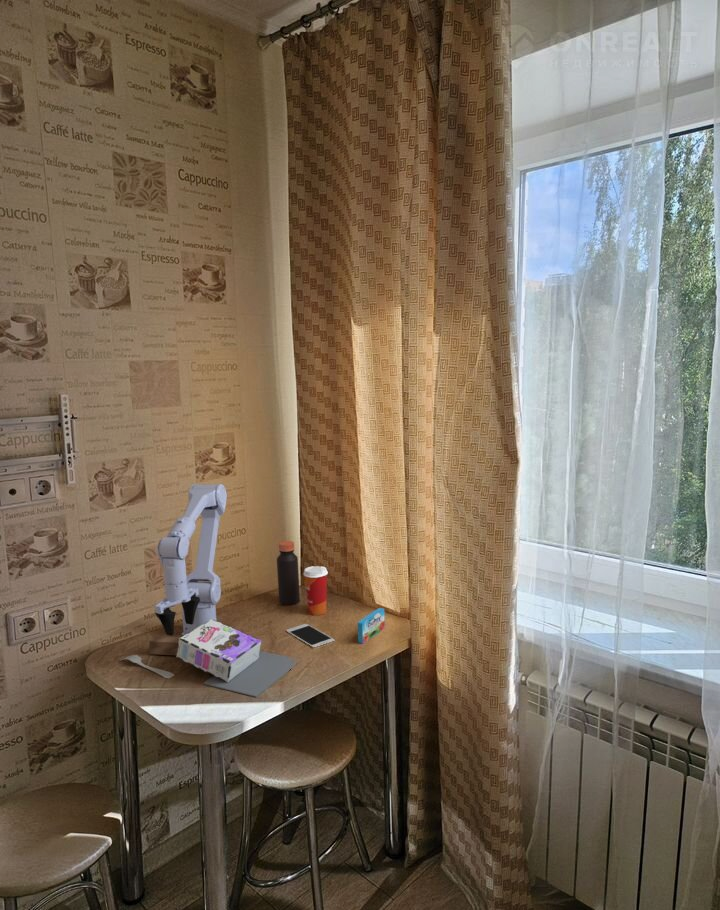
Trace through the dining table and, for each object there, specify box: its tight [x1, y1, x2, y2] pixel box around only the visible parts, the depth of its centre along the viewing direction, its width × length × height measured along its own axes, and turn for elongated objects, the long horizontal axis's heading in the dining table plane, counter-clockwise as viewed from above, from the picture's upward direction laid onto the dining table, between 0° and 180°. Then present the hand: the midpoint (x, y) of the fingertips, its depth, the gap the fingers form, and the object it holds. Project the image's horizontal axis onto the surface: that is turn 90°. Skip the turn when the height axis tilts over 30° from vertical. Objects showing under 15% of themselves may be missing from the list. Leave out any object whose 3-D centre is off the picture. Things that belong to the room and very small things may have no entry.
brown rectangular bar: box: [148, 636, 180, 657], centre depth 175 cm, size 16×4×4 cm, turn 78°
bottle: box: [276, 540, 301, 606], centre depth 208 cm, size 7×7×20 cm
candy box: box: [175, 619, 262, 682], centre depth 165 cm, size 14×6×16 cm
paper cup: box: [302, 565, 329, 616], centre depth 199 cm, size 8×8×14 cm
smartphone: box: [285, 623, 336, 647], centre depth 183 cm, size 7×16×1 cm, turn 37°
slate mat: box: [202, 650, 301, 698], centre depth 163 cm, size 16×20×1 cm
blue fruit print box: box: [357, 607, 386, 645], centre depth 181 cm, size 12×2×6 cm, turn 147°
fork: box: [120, 654, 175, 679], centre depth 167 cm, size 3×21×3 cm, turn 56°
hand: (180, 629), depth 172 cm, fingers open, 7 cm apart
